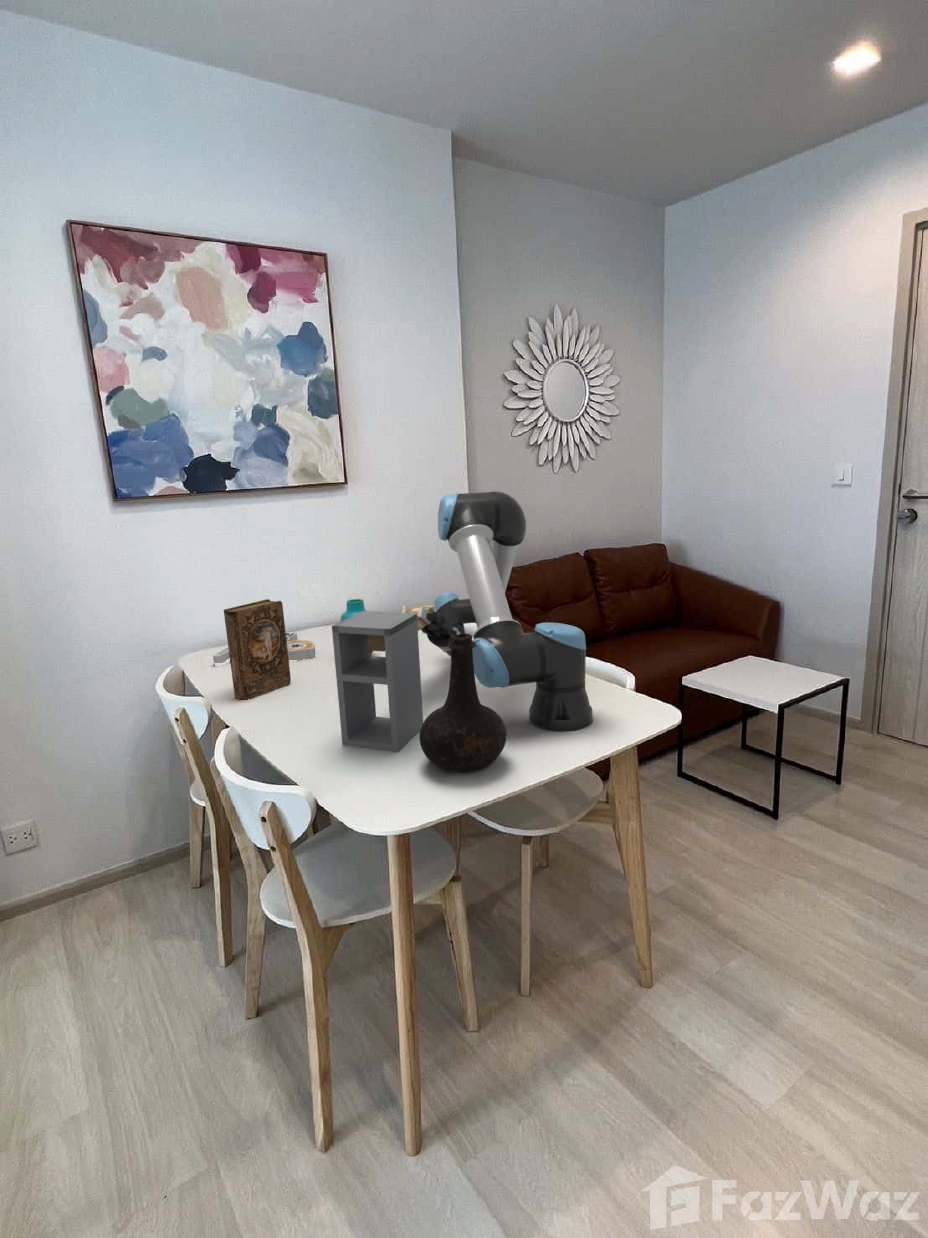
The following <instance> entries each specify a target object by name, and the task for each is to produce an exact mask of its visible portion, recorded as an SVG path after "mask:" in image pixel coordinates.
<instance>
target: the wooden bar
mask: <svg viewBox="0 0 928 1238" xmlns="http://www.w3.org/2000/svg"><path fill="white" fill-rule="evenodd" d="M420 607H424V608H425V609H426V610H427V611H429V612H430V613H431V614H433V612H435V605H419V606H416V607H415V608H413V609H411V611H409V612H407V613H415V614H417V625H418V630H419V631H421V630H420V629H422V628H423V627H425V626H427V625H428V624H427V623H426V622H425V621H423V620H422V619H421V618H419V617H418V616H419V609H420ZM367 639H368V650H369V651H373V652H384V653H385V642H384V636H382V635H367Z"/></svg>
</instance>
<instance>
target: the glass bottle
mask: <svg viewBox="0 0 928 1238" xmlns="http://www.w3.org/2000/svg"><path fill="white" fill-rule="evenodd" d="M450 638H451V642H449V643H448V647H449V648H451V656H450V672H449V673H450V674H449V684H448V691H447V695H446V700H445V702H444V704H443V706H441V707H438V708H436V709H435V710H434V711H432V712H431V713H429V714H428V715H427V716H426V717H425V719H424V720H423V724H422V727H421V730H420V731H419V743H420V748H421V751H422V752H423V754H424V756H425V757H426V759H427V760H428V761H429V762H430V763H431V764H433V765H434V766H435V767H437V768H439V769H441V770H443V771H446V772H451V773H457V774H459V773H460V774H470V773H477V772H479V771H482V770H484V769H486V768H488V767H489V766H491V765H492V764H493V763H494V762H495V761H496V760H497V759H498V757H500V755H501V753H502V752H503V750H504V748H505V746H506V742H507V735H508V734H507V733H508V732H507V726H506V724H505V722H504V721H503V719H502V717H501V716H500V715H499V714H498V713H497V712H496V711H495V710H494V709H492V708H491V707H488V706H486V705H484V704H482V703H481V701H480V698H479V694H478V690H477V685H476V676H475V673H474V663H473V650H472V648H474V647H476V645H477V644H476V643H475V642H473V641H472V640H473V635H472V634H471V633H466V632H465V633H462V634H457V635H452V636H451V637H450Z"/></svg>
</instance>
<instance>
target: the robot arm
mask: <svg viewBox="0 0 928 1238" xmlns="http://www.w3.org/2000/svg"><path fill="white" fill-rule="evenodd" d="M438 504H439V505H438V511H437V531H438V538H439V539H440V540H441V541H444V542H446V541H448V545H449V548H450V549H451V551H454V552H455V553H457V556H458V559H459V563H460V567H461V572H462V574H463V578H464V581H465V586H466V590H467V594H468V596H469V597H468V598H462V599H460V598H459V596H458V594H456V592H444V593H441V594H439V595H438V596H437V597H435V599H434V612H433V614H431V613H430V612H429V611H427V610H426V609H425V608H424V607H420V609H419V616H418V617H419V618H421V619H422V620H423V621H425V622H426V623H427V624H428V625H427V626H425V627H423V628H422V629H420V630H418V632H419V631H421V632H422V633H423V634H426V636H427V638H428V641H429V642H430V643H431V644H433V645H434V646H436V647H437V648H439V649H441V650H442V652H443V653H445V654H447V655H448V656H449V657H451V648H449V647H448V643H449V642H451V638H450V637H451V636H452V635H457V634H462V633H466V629H465V624H473V623H475V624H476V627H477V629H476V630H475V632H474V634H473V635H472V638H473V639H472V641H473V642H475V643H476V644H477V645H476V647H474V648H472V650H473V663H474V674H475V678H476V679H477V681H478V682H479V683H480V684H481V685H482V686H484V687H485V688H488V689H489V688H490V689H493V688H494V689H495V688H503V689H504V688H506V687H512V686H518V685H525V684H532V683H535V690H534V694H533V697H532V701H531V705H530V707H529V710H528V711H529V713H528V714H529V717H528V718H529V721H530V723H531V724H533V725H534V726H536V727H538V728H541V729H546V730H549V731H558V730H559V732H560V731H561V732H562V731H563V730H566V732H567V730H568V731H575V730H576V731H577V730H579V729H582V728H585V726H586V727H588V726H589V725H591V724H592V722H593V717H594V716H593V709H592V706H591V704H590V699H589V696H588V693H587V690H586V661H587V659H586V655H587V653H586V650H587V646H586V644H587V643H586V634H585V632H584V631H583V630H582V629H581V628H579V627H577V626H574V625H572V624H571V625H570V624H565V623H559V622H541V623H537V624H535V627H534V632H533V631H532V632H524V631H523V627H522V625H521V623H520V622H519V621H517V620H515V619H513V616H512V612H511V610H510V606H509V603H508V600H507V597H506V590H507V588H508V587H507V586H508V584H509V580H510V576H511V572H512V569H513V565H514V562H515V557H516V555H517V551H518V547H519V545H521V544H522V543H523V541H524V539H525V537H526V536H525V535H526V531H527V520H526V516H525V513H524V509H523V508H522V507H521V505H520V504H519V503H518V501H517V500H516V499H515V498H514V497H512V496H511V495H510V494H507V493H506V492H502V491H499V490H498V491H496V490H494V491H486V492H485V491H484V492H482V491H481V492H468V493H467V492H465V493H458V492H455V493H452V494H451V493H450V494H446V495H444V496H442V497H441V499H440V501H439V503H438ZM411 610H412V609H411V608H410V607H408V606H407V605H403V606H402V611H401V613H407V612H409V611H411ZM587 725H588V726H587ZM563 732H564V731H563Z"/></svg>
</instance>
